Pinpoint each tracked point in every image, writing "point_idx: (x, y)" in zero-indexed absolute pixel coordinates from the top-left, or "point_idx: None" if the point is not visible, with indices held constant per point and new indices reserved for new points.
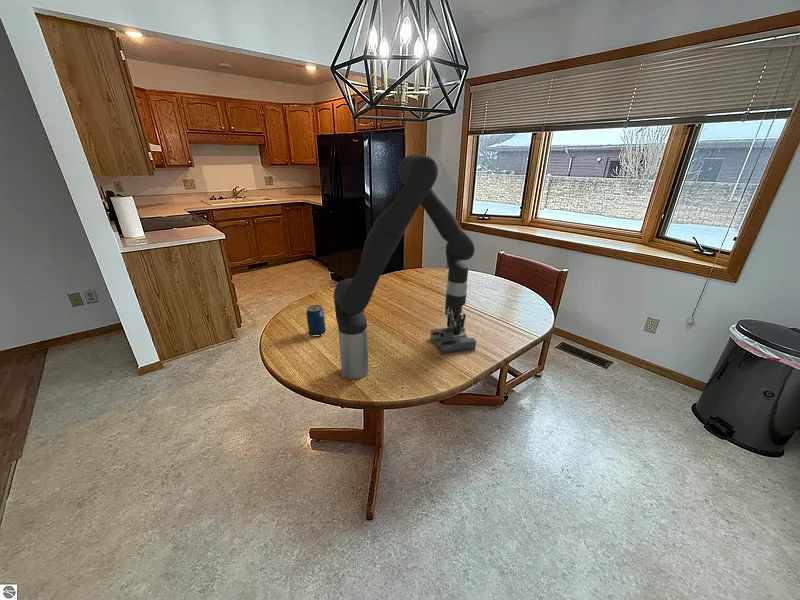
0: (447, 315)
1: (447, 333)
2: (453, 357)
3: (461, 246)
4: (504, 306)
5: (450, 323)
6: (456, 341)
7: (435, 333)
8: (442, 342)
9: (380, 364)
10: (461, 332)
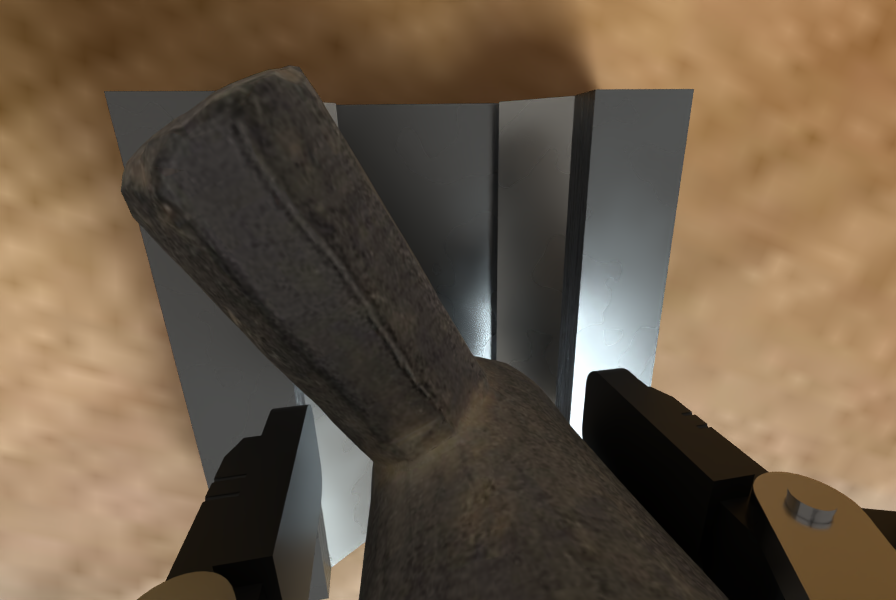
0: (859, 549)
1: (190, 276)
2: (113, 251)
3: None
4: None
5: (497, 487)
6: (246, 384)
7: (581, 142)
8: None
9: None
10: None
